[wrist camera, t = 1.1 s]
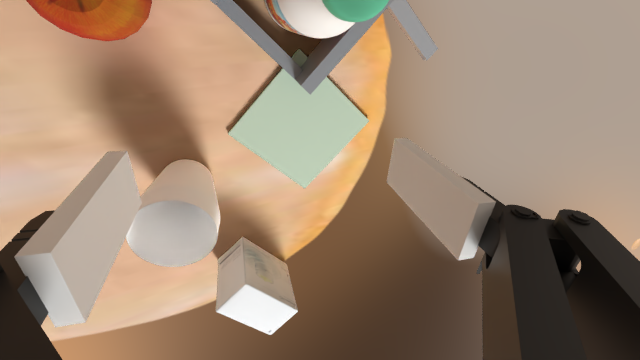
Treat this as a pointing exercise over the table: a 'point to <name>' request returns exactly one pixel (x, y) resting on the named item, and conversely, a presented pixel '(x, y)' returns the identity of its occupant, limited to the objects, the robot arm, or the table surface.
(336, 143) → the mat
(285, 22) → the milk bottle
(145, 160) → the table surface
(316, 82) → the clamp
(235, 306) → the skincare box
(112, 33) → the fruit
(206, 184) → the cup
